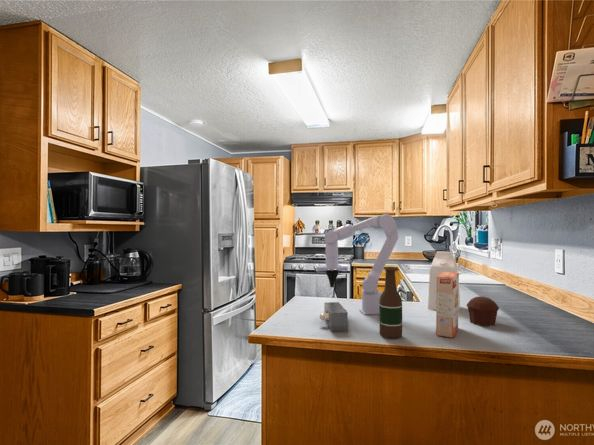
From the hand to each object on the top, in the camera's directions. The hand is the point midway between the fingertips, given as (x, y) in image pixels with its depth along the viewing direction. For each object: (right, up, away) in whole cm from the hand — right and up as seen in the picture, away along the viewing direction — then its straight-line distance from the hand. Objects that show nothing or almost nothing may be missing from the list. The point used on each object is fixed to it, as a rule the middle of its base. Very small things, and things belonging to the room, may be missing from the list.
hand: (332, 287), depth 156 cm
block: (-1, -11, -23) cm, 25 cm away
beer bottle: (+17, -11, -36) cm, 41 cm away
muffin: (+57, -10, -21) cm, 62 cm away
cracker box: (+39, -11, -32) cm, 51 cm away
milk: (+52, -10, +2) cm, 53 cm away
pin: (-2, -9, -23) cm, 25 cm away
